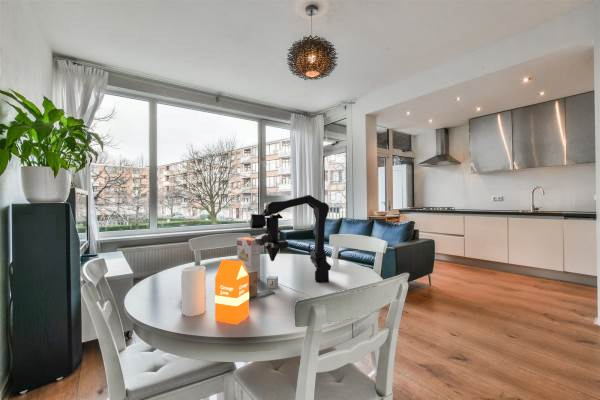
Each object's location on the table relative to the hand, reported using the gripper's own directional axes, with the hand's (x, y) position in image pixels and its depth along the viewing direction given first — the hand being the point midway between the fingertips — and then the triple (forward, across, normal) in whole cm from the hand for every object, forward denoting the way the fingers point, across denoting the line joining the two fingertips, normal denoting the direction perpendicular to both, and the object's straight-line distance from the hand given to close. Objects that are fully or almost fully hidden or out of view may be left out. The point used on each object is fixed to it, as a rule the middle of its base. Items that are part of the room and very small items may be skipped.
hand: (272, 261), depth 134 cm
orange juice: (+12, +21, -30) cm, 39 cm away
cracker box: (+12, -20, -2) cm, 24 cm away
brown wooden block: (+11, +8, -19) cm, 23 cm away
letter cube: (+12, 0, 0) cm, 12 cm away
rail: (+12, +8, -16) cm, 21 cm away
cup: (+12, +7, -39) cm, 42 cm away
